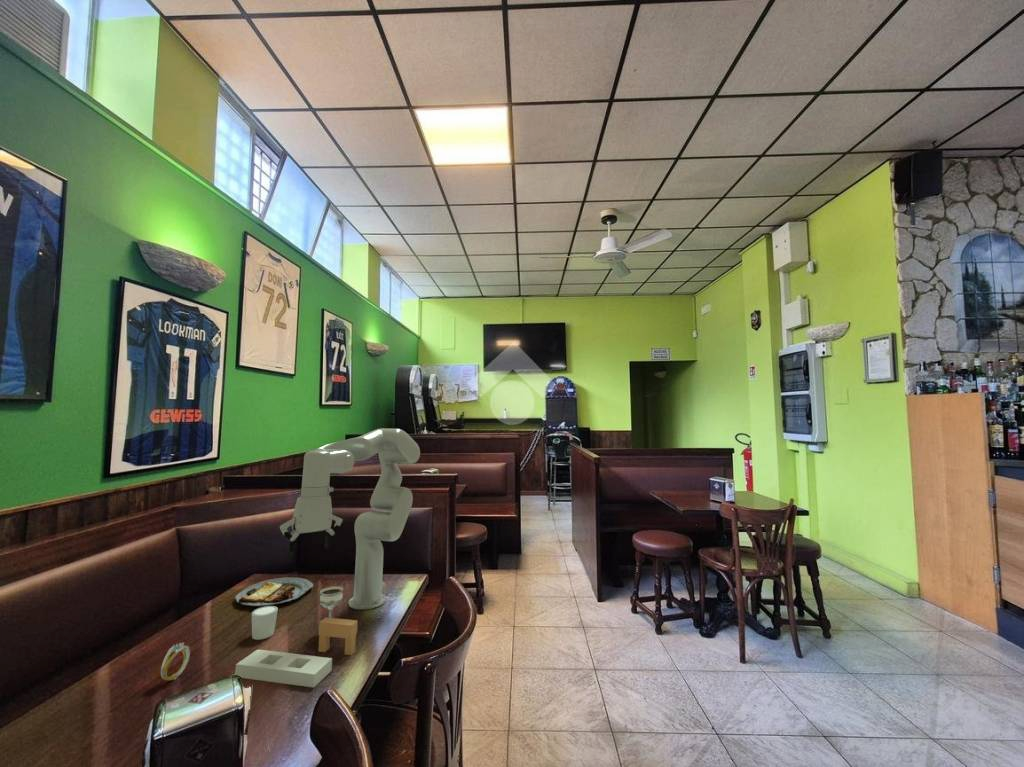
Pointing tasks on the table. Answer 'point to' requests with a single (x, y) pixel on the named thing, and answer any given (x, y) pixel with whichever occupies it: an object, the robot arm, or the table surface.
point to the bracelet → (166, 662)
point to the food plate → (273, 591)
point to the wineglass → (331, 597)
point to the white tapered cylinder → (263, 622)
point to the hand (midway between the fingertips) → (310, 551)
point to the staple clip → (337, 633)
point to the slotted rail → (284, 668)
